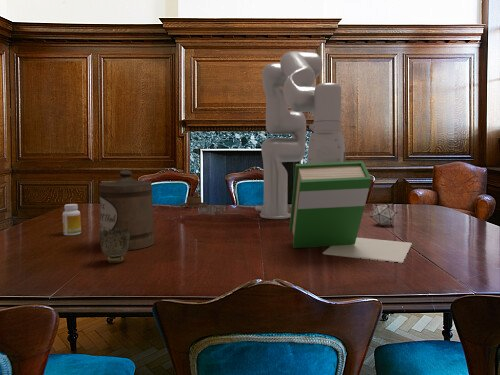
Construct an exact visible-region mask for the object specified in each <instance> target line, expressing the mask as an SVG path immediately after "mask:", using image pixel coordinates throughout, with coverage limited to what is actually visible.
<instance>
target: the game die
mask: <svg viewBox="0 0 500 375" xmlns="http://www.w3.org/2000/svg"><path fill="white" fill-rule="evenodd" d="M374 205H375V208H374V211H373V213H372V215H370V216H369V218H373V220H375V221H376V223H377V224H378V225H379V227H382V226H383V225H384V226H385V225H386V226H387V225H390V226H391V227H392V226H393V224H392V222H393V221H394V219H395V216H396V214H397V215H398V213H399V212H397V211H394V209H392V208H391V207H390V205H389V204H388V202H387V203H386V204H379V205H378V204H377V203H374Z"/></svg>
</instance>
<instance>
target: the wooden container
mask: <svg viewBox="0 0 500 375" xmlns="http://www.w3.org/2000/svg"><path fill="white" fill-rule="evenodd" d="M132 175H133V173H132V171H131V170H129V169H125V168H124V169H121V171H119V176H120V177H119V178H118V179H117V180H116V181H108V182H106V181H105V182H101V183H99V184H98V191H99V193H98V194H99V216H100V218H99V220H100V221H99V223H100V225H99V226H100V231H102V230H103V229H105V230H107V231H108V230H109V228H110V229H111V231H113V230H114V228H116V229H118V228H120V229H121V231H122V229H123V228H124V229H125V230H126V229H127V228H128V229H129V230H130V238H129V247H128V250H127V251H134V250H135V251H136V250H143V249H146V248H148V247H151V246H153V245H154V244H155V228H154V227H155V226H154V225H155V221H154V209H153V208H154V207H153V206H154V205H153V204H154V203H153V190H152V189H153V184H152V181H144V180H142V181H141V180H135V179H133V178H132Z"/></svg>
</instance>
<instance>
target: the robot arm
mask: <svg viewBox="0 0 500 375" xmlns="http://www.w3.org/2000/svg"><path fill="white" fill-rule="evenodd" d="M322 70H323V61H322V58H321V55H319V54H318V53H317V52H313V51H300V50H299V51H297V50H293V51H292V50H291V51H287V52H286V53H284V54H283V55H282V56H281V57H280V60H279V62H272V63H268V64H266V65H265V66H264V67H263V69H262V74H261V80H262V87H263V92H264V94H265V129H266V132H267V133H269V134H270V135H290V136H291V137H270V138H267V139H265V140H264V141H262V143H261V150H260V151H261V156H262V164H263V204H262V205H255V211H257V212H258V211H259V212H260V213H259V217H260V218H263V219H268V220H269V219H270V220H282V219H283V220H285V219H290V217H291V212H288V176H289V175H288V171H287V169H286V168H285V166H284V165H283V163H287V162H288V163H289V162H291V163H295V162H297V163H298V162H301V161H303V159H304V158H305V154H306V139H307V138H306V137H307V119H306V116H305V113H313V122H312V124H309V125H308V129H309V130H312V132H311V133H310V134H309V135H310V136H309V140H308V147H307V149H308V150H307V163H329V162H346V145H345V138H344V137H345V136H344V134H343V132H341V130H342V128H341V127H342V126H341V124H342V87H341V85H340V84H338V83H336V82H335V83H334V82H324V83H318V84H316V86H313V84H314V83H315V80H316V79H317V78H318V77H319V76H320V74H321V73H322ZM289 109H290V110H289Z"/></svg>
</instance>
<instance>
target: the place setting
mask: <svg viewBox="0 0 500 375" xmlns="http://www.w3.org/2000/svg"><path fill="white" fill-rule="evenodd" d="M182 206H185V207H196V208H195V209H198V208H197V207H202V208H205V209H207V208H212V207H213V205H212V204H211V205H207V203H206V202H202V197H201V196H199V191H193V196H186V202H182V203H181V207H182ZM205 206H206V207H205Z"/></svg>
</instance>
